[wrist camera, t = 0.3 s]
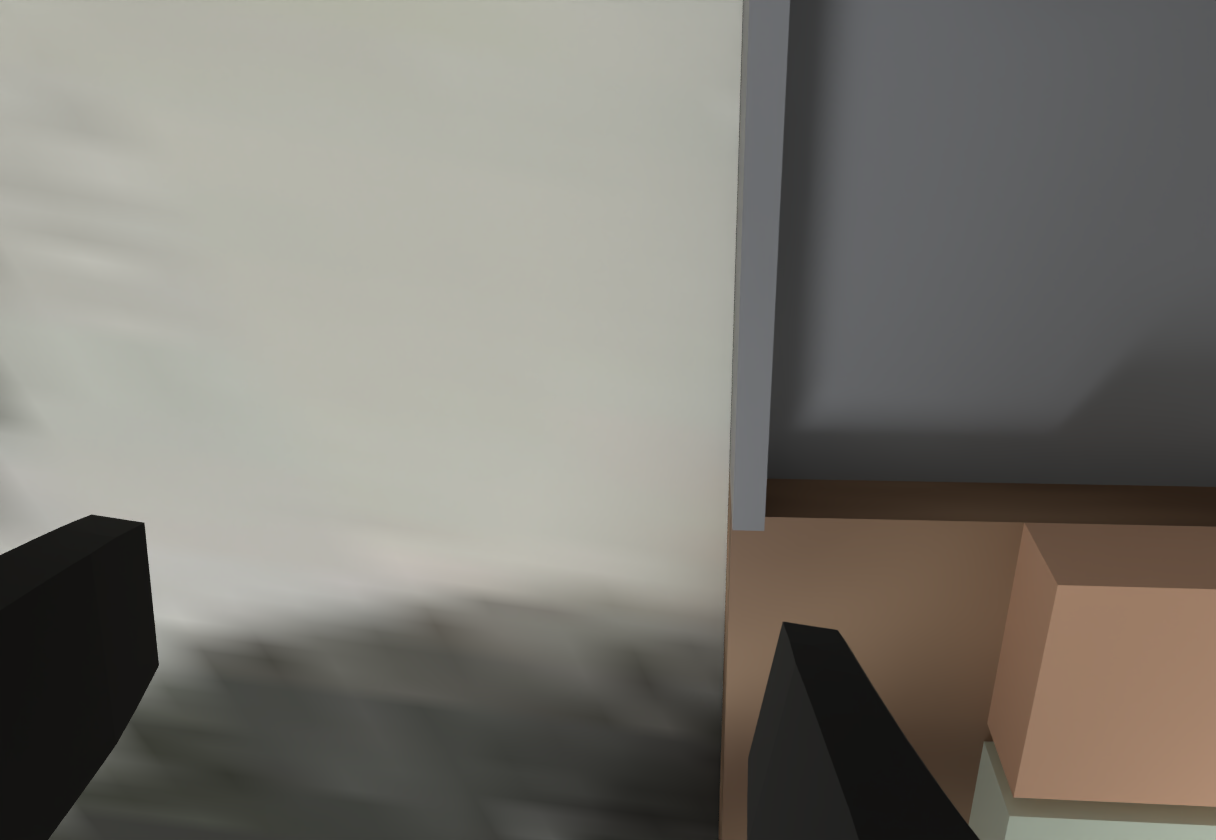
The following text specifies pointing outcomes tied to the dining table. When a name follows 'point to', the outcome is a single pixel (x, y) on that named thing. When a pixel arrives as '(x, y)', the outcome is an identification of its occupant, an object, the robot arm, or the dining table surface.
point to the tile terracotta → (1110, 665)
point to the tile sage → (1076, 814)
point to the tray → (975, 244)
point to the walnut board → (901, 599)
